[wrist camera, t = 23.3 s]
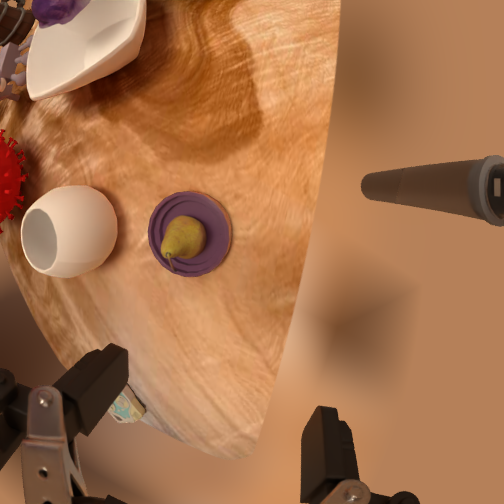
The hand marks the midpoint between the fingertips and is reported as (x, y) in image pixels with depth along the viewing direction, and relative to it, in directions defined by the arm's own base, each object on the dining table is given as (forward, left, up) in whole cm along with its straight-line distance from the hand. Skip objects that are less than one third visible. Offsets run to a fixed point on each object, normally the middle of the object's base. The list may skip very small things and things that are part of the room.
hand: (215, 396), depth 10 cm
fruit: (+10, +1, -29) cm, 30 cm away
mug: (+74, -42, -29) cm, 90 cm away
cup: (+27, +3, -29) cm, 40 cm away
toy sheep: (+55, -21, -29) cm, 66 cm away
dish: (+10, 0, -29) cm, 31 cm away
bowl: (+33, -27, -29) cm, 51 cm away
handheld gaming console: (+17, +43, -27) cm, 54 cm away
